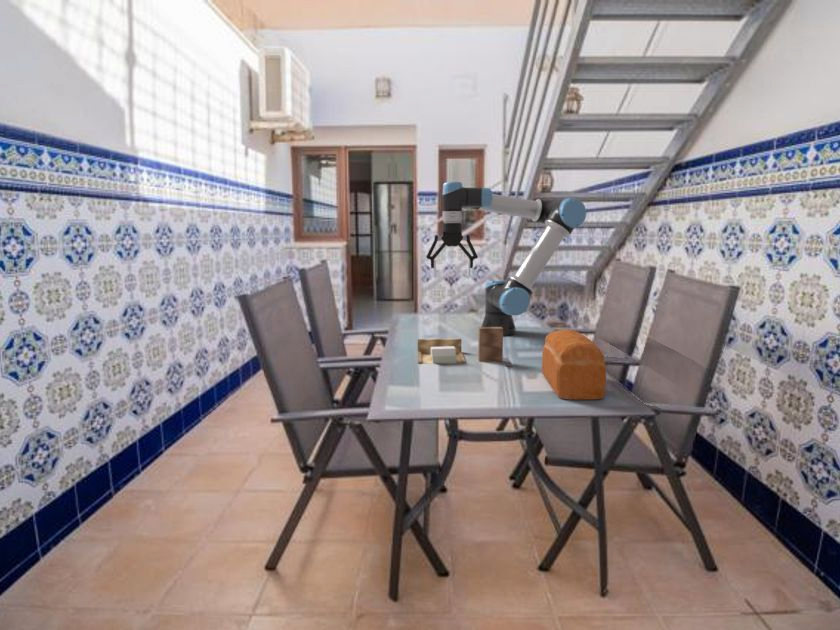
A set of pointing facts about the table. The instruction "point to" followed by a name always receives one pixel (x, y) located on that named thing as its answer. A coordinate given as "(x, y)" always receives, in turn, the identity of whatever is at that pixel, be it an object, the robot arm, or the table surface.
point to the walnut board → (490, 344)
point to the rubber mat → (506, 362)
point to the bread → (573, 366)
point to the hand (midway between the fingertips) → (451, 276)
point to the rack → (426, 345)
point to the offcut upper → (443, 351)
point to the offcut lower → (444, 359)
